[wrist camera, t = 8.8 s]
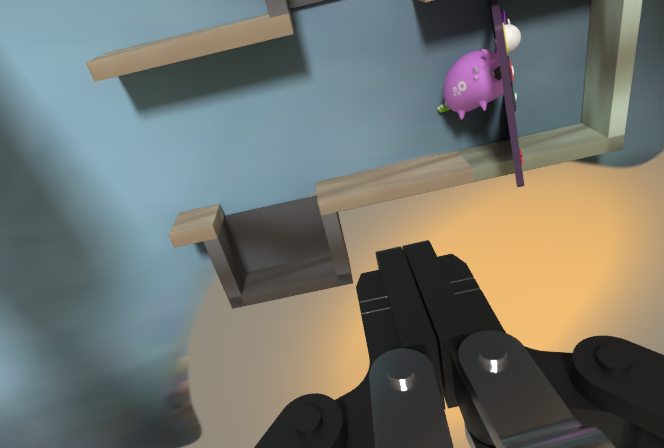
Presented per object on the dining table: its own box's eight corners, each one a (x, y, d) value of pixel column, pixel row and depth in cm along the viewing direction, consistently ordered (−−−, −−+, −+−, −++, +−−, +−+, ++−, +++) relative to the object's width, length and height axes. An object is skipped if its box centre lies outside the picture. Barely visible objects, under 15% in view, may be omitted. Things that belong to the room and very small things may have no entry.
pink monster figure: (538, 185, 25) (519, 19, 20) (444, 199, 27) (408, 51, 22) (527, 134, 30) (510, -7, 25) (449, 149, 32) (421, 21, 28)
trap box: (52, -68, 23) (21, -72, 20) (629, -217, 21) (674, -242, 19) (212, 288, 35) (205, 314, 32) (587, 208, 34) (611, 228, 31)
